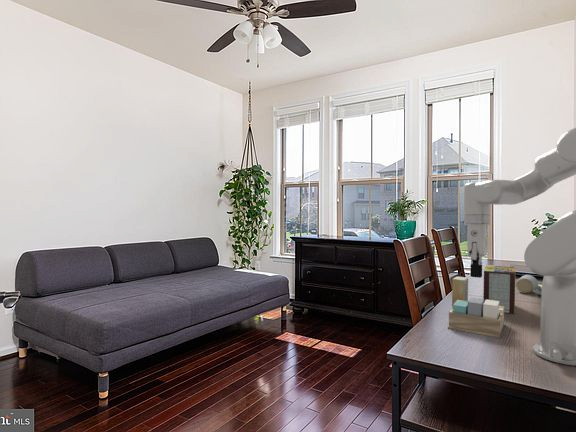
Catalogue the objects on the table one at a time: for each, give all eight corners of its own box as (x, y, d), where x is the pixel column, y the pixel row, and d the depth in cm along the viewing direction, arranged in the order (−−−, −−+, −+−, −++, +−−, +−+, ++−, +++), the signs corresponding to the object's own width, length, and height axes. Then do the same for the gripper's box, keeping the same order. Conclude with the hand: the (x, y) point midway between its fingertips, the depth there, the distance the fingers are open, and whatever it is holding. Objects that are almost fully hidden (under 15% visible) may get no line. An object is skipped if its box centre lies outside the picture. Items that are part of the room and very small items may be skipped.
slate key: (480, 319, 115) (481, 303, 115) (467, 317, 117) (467, 301, 117) (483, 314, 121) (484, 299, 121) (470, 312, 123) (471, 297, 123)
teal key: (465, 322, 118) (465, 306, 117) (452, 320, 120) (453, 304, 120) (468, 316, 123) (469, 302, 123) (456, 314, 126) (457, 300, 125)
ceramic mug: (514, 292, 169) (515, 275, 169) (519, 289, 175) (520, 273, 175) (541, 296, 162) (542, 279, 161) (545, 293, 168) (546, 277, 167)
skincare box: (456, 306, 144) (456, 276, 144) (468, 308, 141) (468, 277, 141) (451, 310, 139) (452, 278, 139) (463, 312, 136) (464, 280, 136)
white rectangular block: (496, 322, 113) (497, 306, 112) (483, 319, 115) (483, 304, 115) (499, 316, 118) (499, 301, 118) (485, 314, 120) (486, 299, 120)
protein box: (513, 305, 147) (514, 266, 147) (514, 314, 134) (515, 272, 134) (484, 301, 153) (485, 264, 152) (482, 310, 139) (483, 270, 139)
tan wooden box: (499, 337, 110) (500, 317, 110) (447, 328, 118) (448, 309, 118) (503, 323, 123) (504, 305, 123) (456, 316, 132) (457, 298, 131)
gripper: (487, 221, 110) (486, 281, 110) (492, 220, 122) (491, 274, 123) (460, 220, 114) (459, 279, 115) (467, 219, 127) (467, 272, 127)
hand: (476, 276), depth 119 cm, fingers closed
